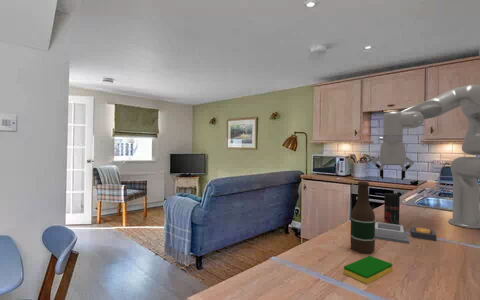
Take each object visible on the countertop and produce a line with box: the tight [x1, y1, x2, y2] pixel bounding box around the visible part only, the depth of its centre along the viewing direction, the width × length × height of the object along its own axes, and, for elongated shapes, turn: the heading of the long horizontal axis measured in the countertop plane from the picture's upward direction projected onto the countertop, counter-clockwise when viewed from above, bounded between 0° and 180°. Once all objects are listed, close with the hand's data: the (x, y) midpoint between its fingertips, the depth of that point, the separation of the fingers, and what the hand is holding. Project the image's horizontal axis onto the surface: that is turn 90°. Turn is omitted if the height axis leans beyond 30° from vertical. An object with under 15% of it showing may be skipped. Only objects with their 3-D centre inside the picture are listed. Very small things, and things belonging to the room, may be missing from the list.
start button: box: [415, 226, 430, 233], centre depth 108 cm, size 5×5×2 cm
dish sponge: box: [343, 255, 393, 285], centre depth 77 cm, size 7×14×2 cm, turn 124°
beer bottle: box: [350, 180, 376, 255], centre depth 93 cm, size 8×8×24 cm
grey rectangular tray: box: [375, 221, 410, 245], centre depth 108 cm, size 14×13×4 cm
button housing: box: [409, 226, 437, 242], centre depth 108 cm, size 8×8×2 cm
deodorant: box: [383, 192, 401, 225], centre depth 119 cm, size 6×6×15 cm
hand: (392, 178), depth 119 cm, fingers open, 7 cm apart
